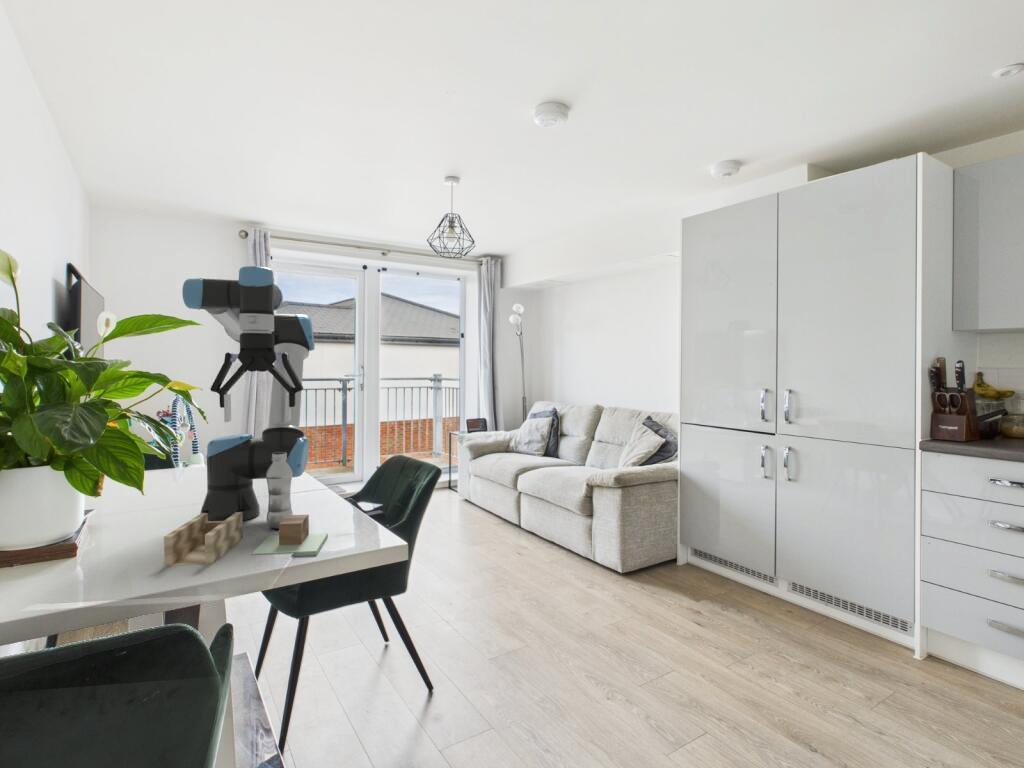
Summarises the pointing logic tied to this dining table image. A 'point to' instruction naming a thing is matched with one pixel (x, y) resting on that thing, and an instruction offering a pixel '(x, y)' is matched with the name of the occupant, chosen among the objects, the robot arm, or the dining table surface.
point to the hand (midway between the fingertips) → (258, 421)
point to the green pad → (292, 546)
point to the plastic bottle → (278, 490)
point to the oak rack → (202, 540)
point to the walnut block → (293, 529)
